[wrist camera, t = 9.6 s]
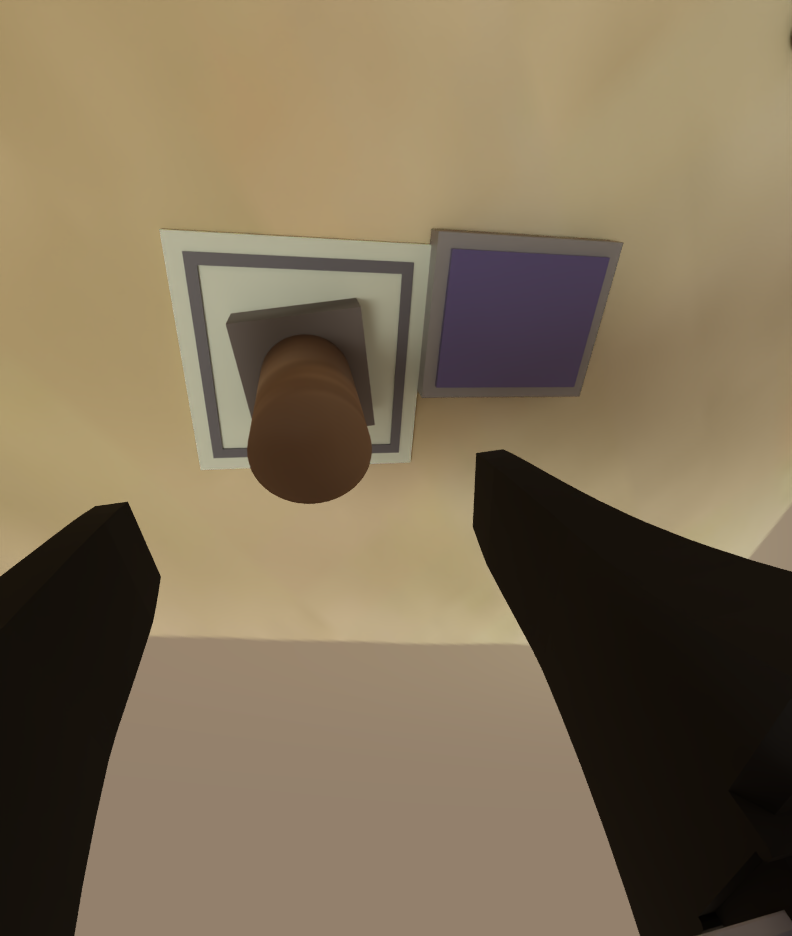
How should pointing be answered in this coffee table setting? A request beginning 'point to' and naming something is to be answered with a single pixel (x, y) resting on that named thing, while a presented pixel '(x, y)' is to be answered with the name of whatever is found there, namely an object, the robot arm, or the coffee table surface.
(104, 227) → the coffee table surface
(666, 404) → the coffee table surface
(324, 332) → the stamp
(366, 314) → the sheet
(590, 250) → the ink pad
